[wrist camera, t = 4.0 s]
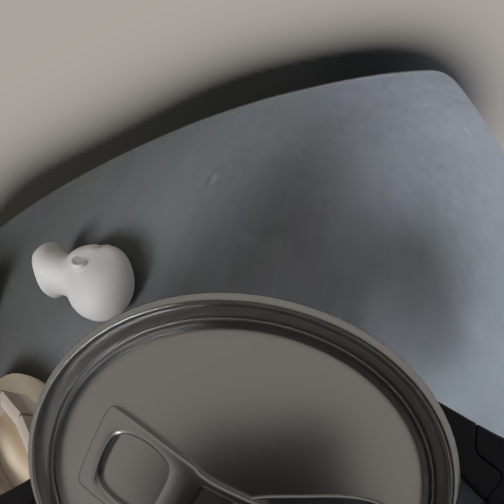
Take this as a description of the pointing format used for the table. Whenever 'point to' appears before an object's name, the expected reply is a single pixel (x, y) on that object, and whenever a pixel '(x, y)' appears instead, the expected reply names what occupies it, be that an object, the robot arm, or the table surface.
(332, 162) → the table surface
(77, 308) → the smooth white sculpture
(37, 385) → the collar stand
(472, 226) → the table surface
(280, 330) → the can
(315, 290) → the table surface
